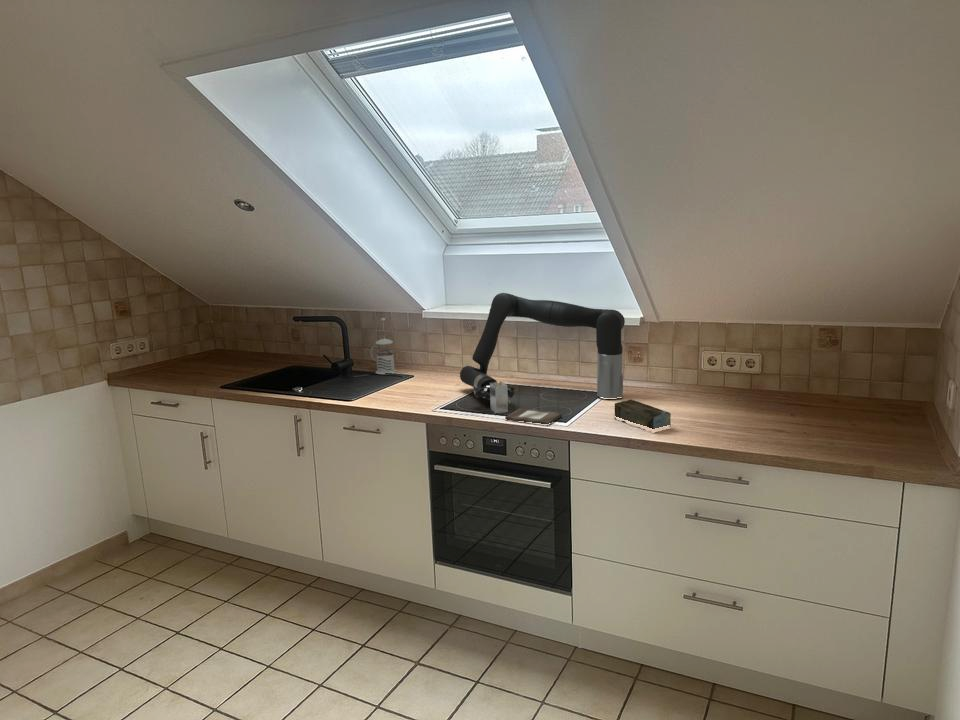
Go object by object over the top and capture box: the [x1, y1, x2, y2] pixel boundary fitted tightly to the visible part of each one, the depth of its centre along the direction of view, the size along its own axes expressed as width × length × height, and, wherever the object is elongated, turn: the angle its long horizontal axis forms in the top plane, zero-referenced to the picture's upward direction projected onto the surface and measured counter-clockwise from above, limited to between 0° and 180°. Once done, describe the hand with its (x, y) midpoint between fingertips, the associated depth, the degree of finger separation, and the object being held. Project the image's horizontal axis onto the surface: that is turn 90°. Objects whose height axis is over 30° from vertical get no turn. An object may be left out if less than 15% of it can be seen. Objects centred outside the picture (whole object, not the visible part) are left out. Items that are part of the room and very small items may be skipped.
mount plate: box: [504, 407, 563, 424], centre depth 238 cm, size 16×12×1 cm
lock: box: [490, 381, 509, 414], centre depth 247 cm, size 4×6×11 cm
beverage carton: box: [614, 399, 672, 429], centre depth 228 cm, size 8×19×7 cm, turn 30°
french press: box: [369, 317, 397, 375], centre depth 312 cm, size 10×12×25 cm
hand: (500, 395), depth 245 cm, fingers open, 8 cm apart
